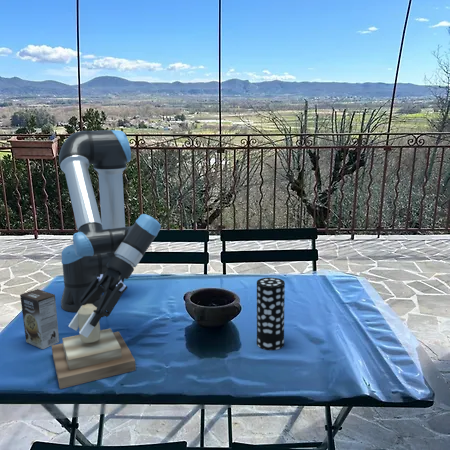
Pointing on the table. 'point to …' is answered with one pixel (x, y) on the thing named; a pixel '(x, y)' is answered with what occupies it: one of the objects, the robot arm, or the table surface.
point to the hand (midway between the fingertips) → (77, 331)
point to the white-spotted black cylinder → (270, 313)
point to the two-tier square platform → (91, 358)
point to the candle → (83, 317)
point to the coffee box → (40, 318)
